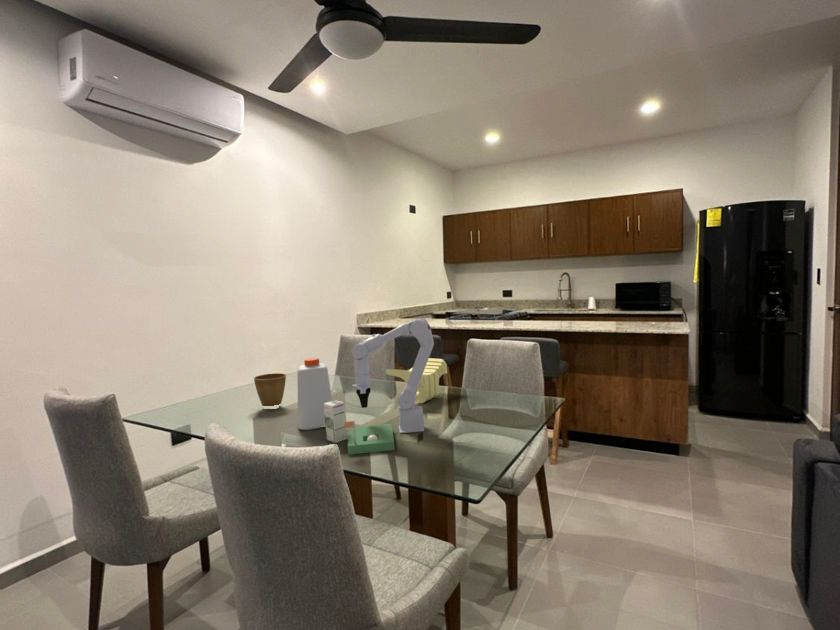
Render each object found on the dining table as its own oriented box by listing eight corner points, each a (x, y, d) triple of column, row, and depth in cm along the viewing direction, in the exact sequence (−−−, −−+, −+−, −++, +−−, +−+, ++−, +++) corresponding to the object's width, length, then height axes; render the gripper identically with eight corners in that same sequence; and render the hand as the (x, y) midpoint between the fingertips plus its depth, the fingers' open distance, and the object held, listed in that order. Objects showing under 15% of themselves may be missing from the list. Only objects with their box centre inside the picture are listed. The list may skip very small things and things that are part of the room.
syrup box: (347, 439, 169) (344, 401, 168) (334, 443, 164) (332, 405, 163) (338, 436, 173) (335, 399, 171) (325, 440, 168) (322, 403, 167)
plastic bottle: (298, 432, 180) (292, 363, 178) (298, 421, 194) (293, 358, 192) (336, 427, 184) (331, 360, 182) (333, 416, 198) (328, 354, 196)
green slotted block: (391, 431, 175) (389, 403, 174) (394, 449, 155) (392, 419, 154) (348, 435, 173) (346, 407, 172) (346, 454, 153) (343, 423, 152)
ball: (378, 443, 157) (375, 449, 159) (380, 434, 160) (377, 440, 162) (367, 440, 156) (365, 447, 159) (369, 431, 159) (367, 437, 162)
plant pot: (268, 414, 209) (265, 380, 207) (250, 410, 218) (247, 377, 216) (294, 406, 220) (292, 374, 219) (276, 402, 229) (274, 371, 228)
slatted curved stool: (415, 409, 203) (413, 370, 202) (388, 405, 212) (385, 368, 210) (448, 393, 228) (446, 359, 227) (422, 390, 237) (420, 357, 235)
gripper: (352, 370, 183) (354, 403, 184) (351, 378, 168) (353, 413, 169) (369, 369, 183) (372, 401, 184) (370, 376, 169) (372, 411, 170)
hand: (364, 407), depth 177 cm, fingers closed
